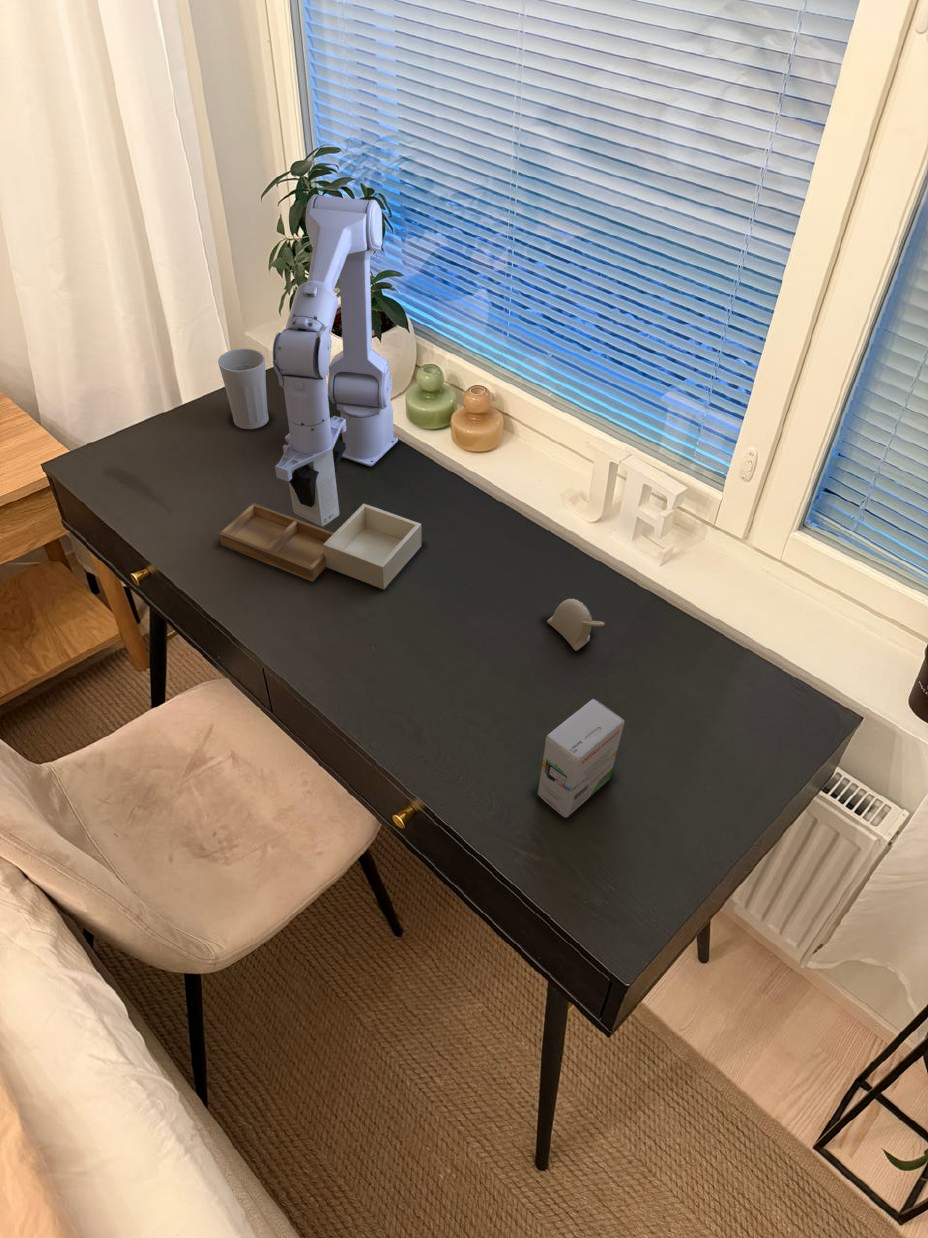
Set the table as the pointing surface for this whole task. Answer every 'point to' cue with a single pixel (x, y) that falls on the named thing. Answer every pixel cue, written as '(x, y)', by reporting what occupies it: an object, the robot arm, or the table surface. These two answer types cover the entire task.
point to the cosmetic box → (319, 493)
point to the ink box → (579, 757)
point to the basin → (373, 545)
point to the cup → (245, 386)
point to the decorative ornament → (573, 622)
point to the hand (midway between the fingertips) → (317, 494)
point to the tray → (278, 541)
